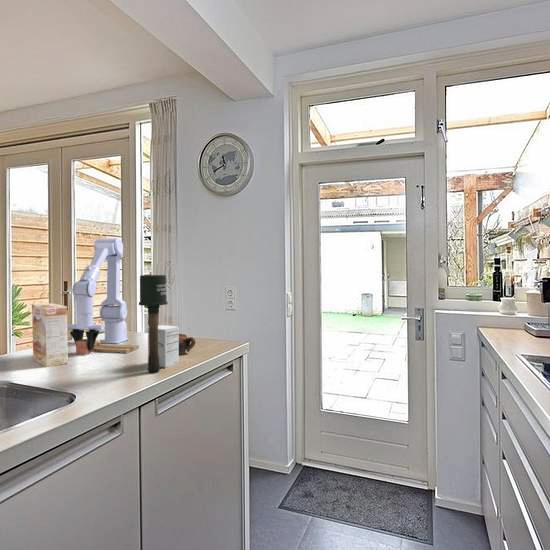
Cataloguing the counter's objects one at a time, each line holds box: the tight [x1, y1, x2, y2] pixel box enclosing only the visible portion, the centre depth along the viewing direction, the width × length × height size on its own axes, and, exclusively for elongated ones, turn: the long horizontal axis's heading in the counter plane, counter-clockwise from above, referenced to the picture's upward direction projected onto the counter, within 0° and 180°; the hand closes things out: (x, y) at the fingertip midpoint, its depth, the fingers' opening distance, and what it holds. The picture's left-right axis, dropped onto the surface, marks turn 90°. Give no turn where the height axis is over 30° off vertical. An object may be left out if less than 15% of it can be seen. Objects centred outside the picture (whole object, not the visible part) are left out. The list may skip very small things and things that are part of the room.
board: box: [94, 343, 140, 354], centre depth 160 cm, size 9×18×1 cm, turn 80°
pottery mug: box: [179, 333, 196, 356], centre depth 155 cm, size 12×10×8 cm
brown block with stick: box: [75, 338, 101, 355], centre depth 157 cm, size 11×4×5 cm, turn 170°
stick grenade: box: [138, 274, 168, 374], centre depth 128 cm, size 8×9×30 cm
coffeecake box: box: [31, 302, 69, 368], centre depth 141 cm, size 15×7×20 cm, turn 45°
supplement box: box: [147, 324, 180, 369], centre depth 137 cm, size 7×7×13 cm
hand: (85, 349), depth 154 cm, fingers closed on brown block with stick, 4 cm apart
